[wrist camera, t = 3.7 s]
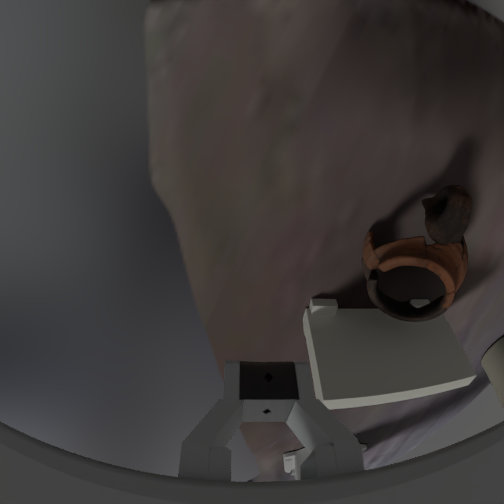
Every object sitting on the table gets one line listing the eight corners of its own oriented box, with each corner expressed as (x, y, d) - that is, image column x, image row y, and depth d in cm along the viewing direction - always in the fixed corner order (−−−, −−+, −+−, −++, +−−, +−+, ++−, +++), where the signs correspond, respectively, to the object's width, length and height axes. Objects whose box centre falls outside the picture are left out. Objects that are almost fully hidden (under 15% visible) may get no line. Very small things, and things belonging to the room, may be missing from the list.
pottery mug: (441, 273, 26) (436, 340, 21) (361, 244, 29) (341, 307, 24) (491, 178, 17) (513, 243, 12) (391, 139, 20) (382, 189, 15)
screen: (428, 324, 29) (462, 391, 21) (300, 328, 29) (314, 416, 20) (442, 298, 27) (483, 367, 19) (308, 298, 27) (328, 392, 18)
